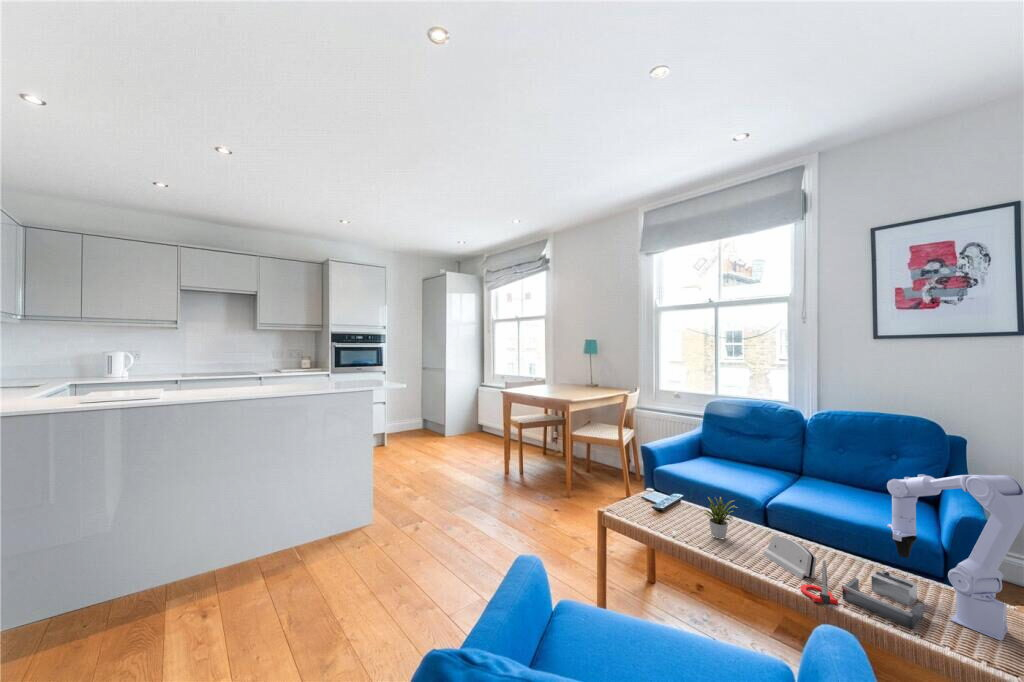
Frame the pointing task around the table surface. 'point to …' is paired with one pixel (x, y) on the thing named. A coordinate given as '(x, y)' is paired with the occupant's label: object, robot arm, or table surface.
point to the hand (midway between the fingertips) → (903, 556)
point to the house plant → (719, 518)
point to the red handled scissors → (825, 595)
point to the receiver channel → (881, 605)
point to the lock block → (894, 587)
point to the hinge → (791, 556)
